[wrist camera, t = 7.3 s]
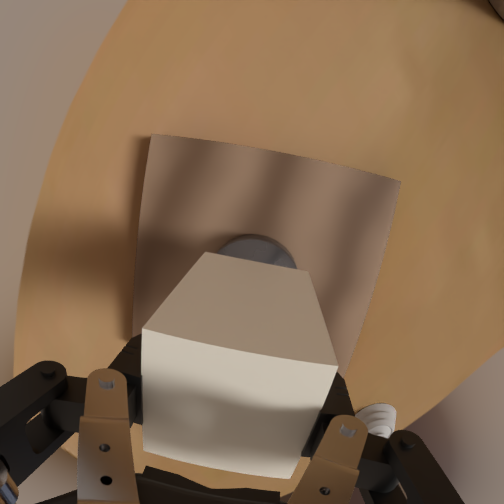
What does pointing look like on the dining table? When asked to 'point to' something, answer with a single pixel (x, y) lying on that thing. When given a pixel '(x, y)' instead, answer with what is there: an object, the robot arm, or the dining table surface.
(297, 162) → the walnut block
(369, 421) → the chalice
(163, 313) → the cream rectangular block
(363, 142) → the dining table surface
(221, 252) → the dark grey cylinder
